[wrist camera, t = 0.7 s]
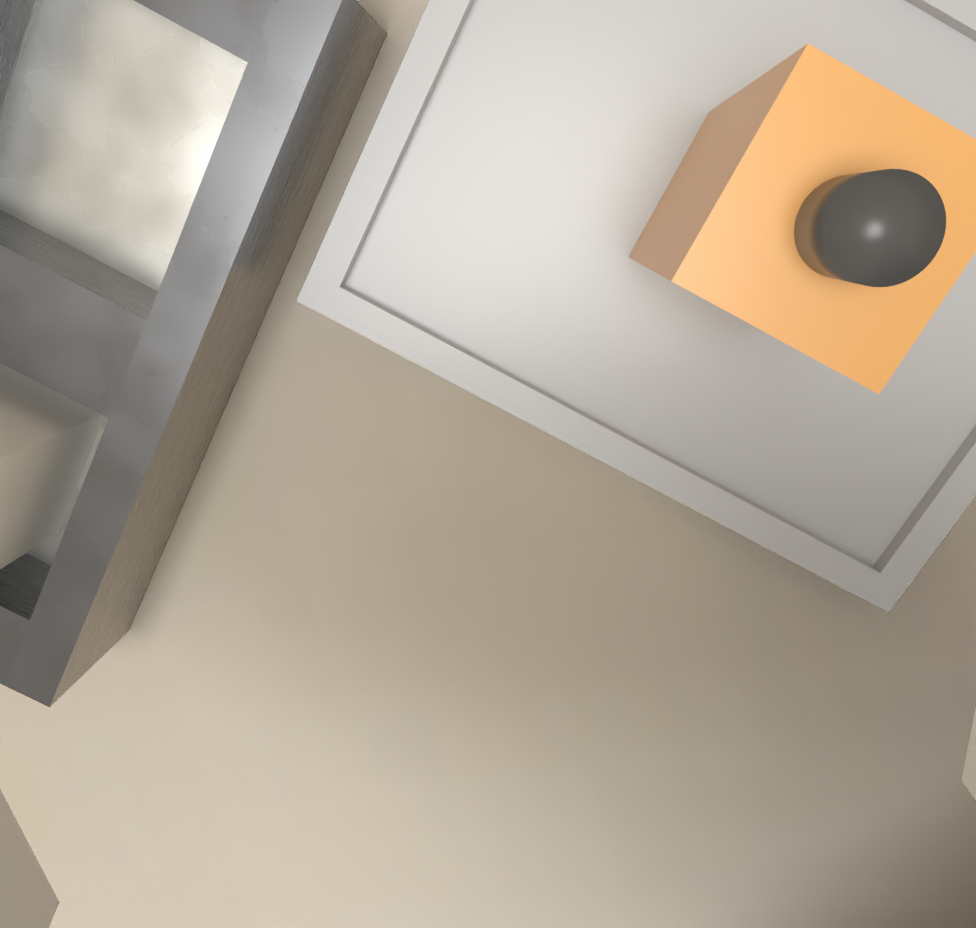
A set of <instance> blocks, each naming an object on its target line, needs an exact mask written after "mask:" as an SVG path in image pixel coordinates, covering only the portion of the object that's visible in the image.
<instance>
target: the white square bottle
mask: <svg viewBox="0 0 976 928" xmlns="http://www.w3.org/2000/svg"><path fill="white" fill-rule="evenodd" d="M103 418H104V415H102V414H100V413H98V412H96V411H94V410H92V409H90V408H88V407H86V406H84V405H82V404H80V403H78V402H76V401H74V400H72V399H70V398H68V397H66V396H64V395H62V394H61V393H59V392H57V391H55V390H53V389H51V388H49V387H47V386H45V385H43V384H41V383H39V382H37V381H35V380H33V379H31V378H29V377H27V376H25V375H23V374H21V373H19V372H17V371H15V370H13V369H11V368H9V367H8V366H6V365H4V364H2V363H0V569H2V568H3V567H5V566H6V565H8V564H10V563H11V562H13V561H14V560H16V559H18V558H19V557H21V556H22V555H24V554H25V553H27V552H29V551H30V550H32V549H33V548H35V547H36V546H38V545H40V544H41V543H43V542H44V541H46V540H48V539H49V538H51V537H52V536H54V535H55V534H57V533H59V531H60V529H61V526H62V523H63V521H64V518H65V516H66V513H67V510H68V508H69V505H70V503H71V500H72V498H73V495H74V492H75V490H76V487H77V485H78V482H79V480H80V477H81V474H82V472H83V469H84V467H85V464H86V462H87V459H88V456H89V454H90V451H91V449H92V446H93V444H94V441H95V438H96V436H97V433H98V431H99V428H100V426H101V423H102V420H103Z"/></svg>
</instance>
